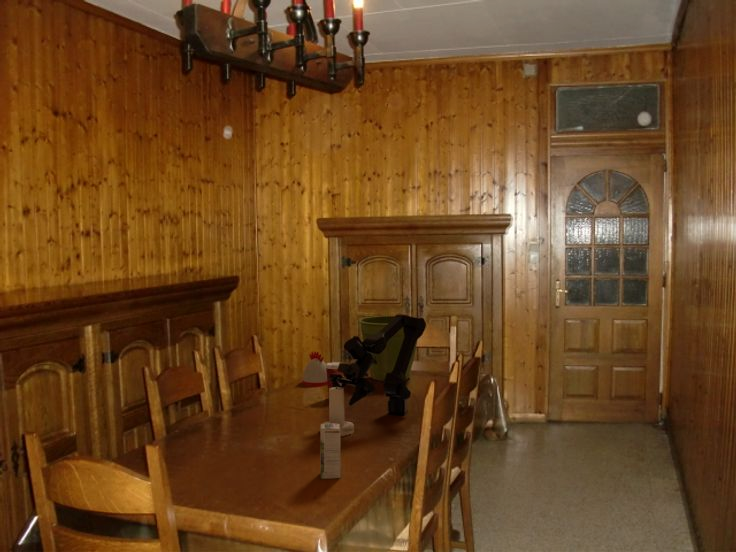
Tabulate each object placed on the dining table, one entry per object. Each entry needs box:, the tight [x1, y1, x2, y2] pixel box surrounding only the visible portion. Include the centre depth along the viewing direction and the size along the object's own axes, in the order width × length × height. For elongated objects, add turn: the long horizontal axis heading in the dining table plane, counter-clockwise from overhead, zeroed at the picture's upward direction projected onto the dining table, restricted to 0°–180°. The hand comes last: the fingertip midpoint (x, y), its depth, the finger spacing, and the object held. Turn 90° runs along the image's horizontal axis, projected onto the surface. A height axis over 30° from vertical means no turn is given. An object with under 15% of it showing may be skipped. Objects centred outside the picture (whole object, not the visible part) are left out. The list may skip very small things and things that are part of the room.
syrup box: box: [319, 423, 342, 480], centre depth 196 cm, size 6×6×14 cm
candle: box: [328, 386, 345, 427], centre depth 240 cm, size 5×5×14 cm
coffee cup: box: [325, 361, 345, 398], centre depth 289 cm, size 8×8×15 cm
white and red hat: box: [301, 351, 328, 387], centre depth 321 cm, size 14×14×15 cm
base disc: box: [319, 420, 355, 437], centre depth 240 cm, size 12×12×2 cm
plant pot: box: [358, 315, 419, 382], centre depth 329 cm, size 30×30×29 cm
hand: (340, 402), depth 241 cm, fingers open, 9 cm apart
